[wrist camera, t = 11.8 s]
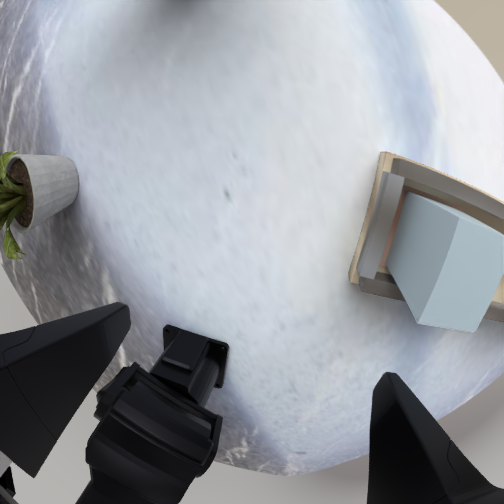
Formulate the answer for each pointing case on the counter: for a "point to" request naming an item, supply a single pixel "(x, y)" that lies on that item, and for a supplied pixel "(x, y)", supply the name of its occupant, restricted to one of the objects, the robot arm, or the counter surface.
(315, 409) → the counter surface
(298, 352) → the counter surface
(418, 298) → the block
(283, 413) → the counter surface
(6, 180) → the house plant
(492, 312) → the rail plate
